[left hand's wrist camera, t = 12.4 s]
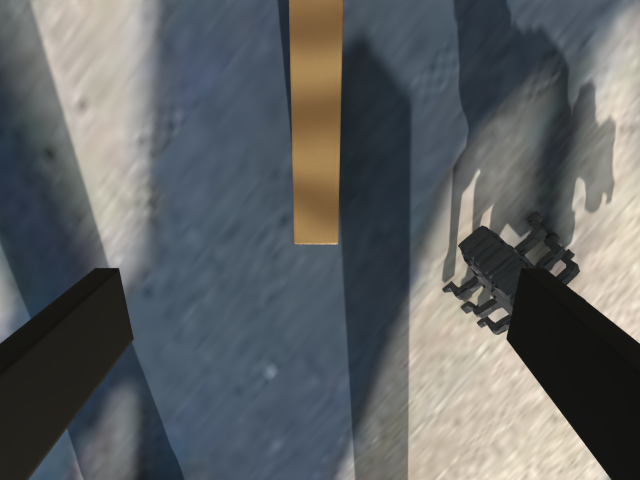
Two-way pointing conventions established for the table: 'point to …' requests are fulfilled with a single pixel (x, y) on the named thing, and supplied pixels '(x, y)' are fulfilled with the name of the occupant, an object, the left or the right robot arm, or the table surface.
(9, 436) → the left robot arm
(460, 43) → the table surface
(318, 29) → the post
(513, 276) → the toy
